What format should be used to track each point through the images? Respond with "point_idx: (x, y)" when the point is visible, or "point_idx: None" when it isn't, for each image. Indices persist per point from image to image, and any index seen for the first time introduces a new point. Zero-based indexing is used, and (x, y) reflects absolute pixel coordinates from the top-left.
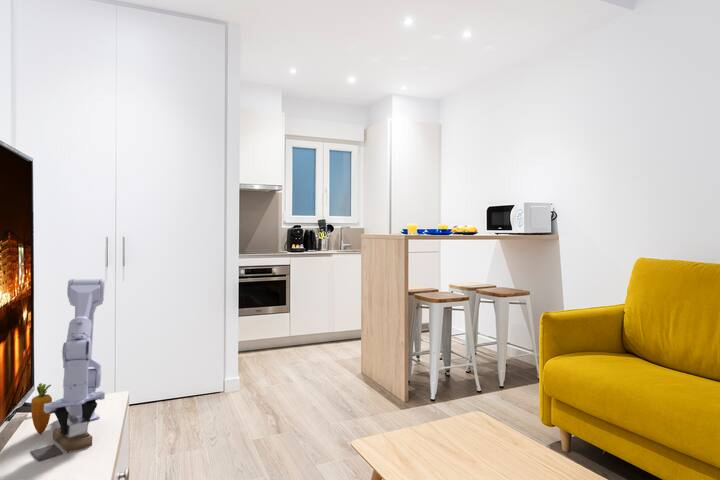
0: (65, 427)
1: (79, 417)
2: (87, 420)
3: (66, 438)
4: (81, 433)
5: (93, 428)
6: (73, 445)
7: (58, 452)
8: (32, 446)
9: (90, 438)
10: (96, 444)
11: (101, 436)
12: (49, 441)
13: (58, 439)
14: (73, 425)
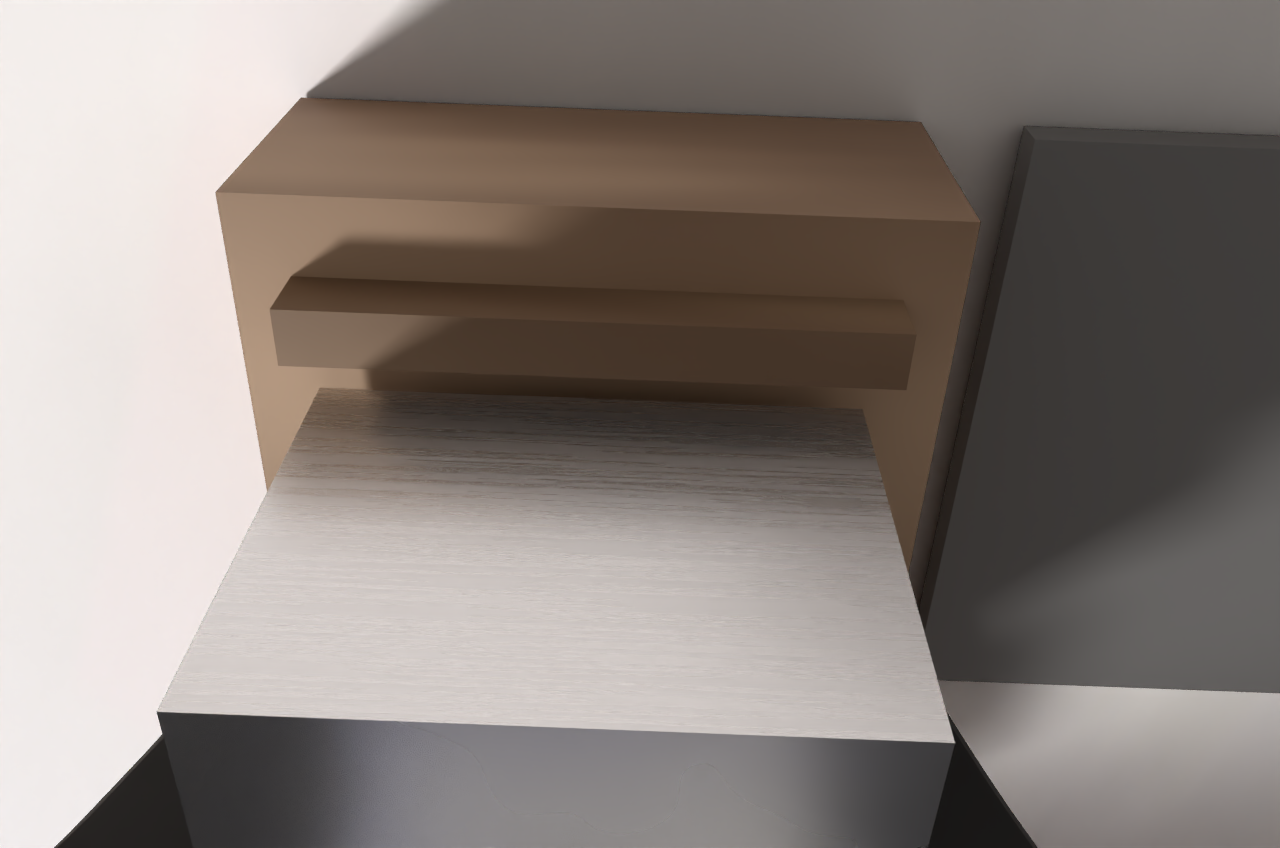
0: (965, 829)
1: None
2: (151, 835)
3: None
4: (490, 442)
5: None
6: (794, 176)
7: (1100, 239)
8: (1151, 843)
9: (291, 176)
10: (192, 62)
11: (6, 415)
12: None
13: None
14: (790, 726)
